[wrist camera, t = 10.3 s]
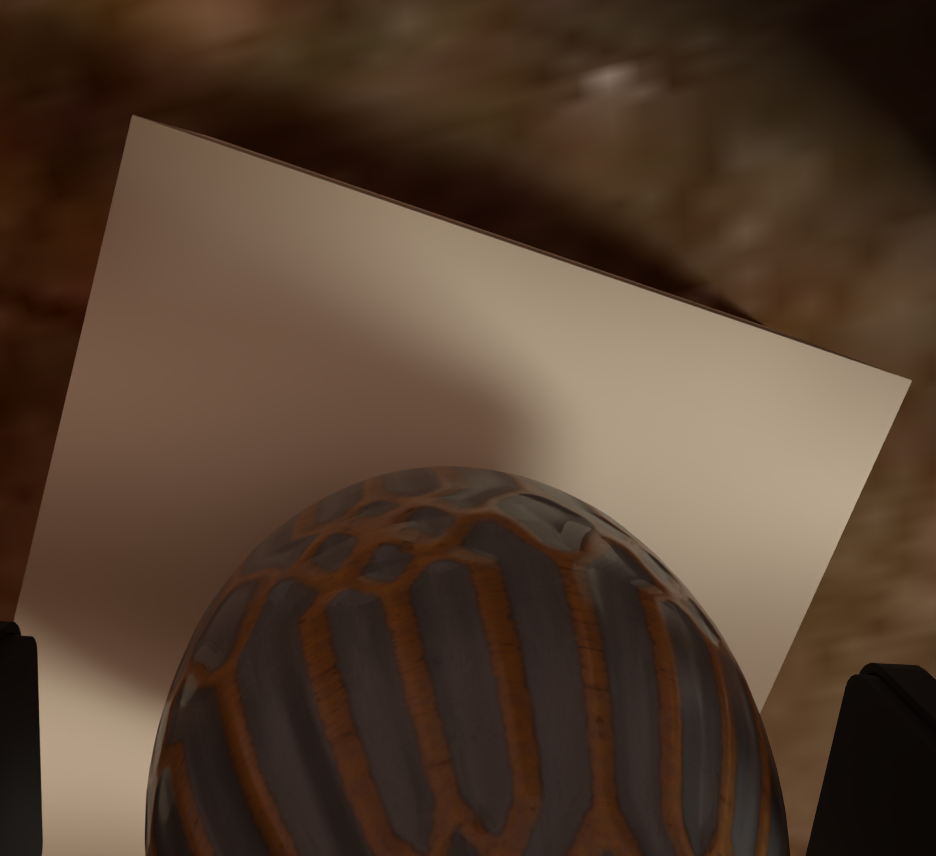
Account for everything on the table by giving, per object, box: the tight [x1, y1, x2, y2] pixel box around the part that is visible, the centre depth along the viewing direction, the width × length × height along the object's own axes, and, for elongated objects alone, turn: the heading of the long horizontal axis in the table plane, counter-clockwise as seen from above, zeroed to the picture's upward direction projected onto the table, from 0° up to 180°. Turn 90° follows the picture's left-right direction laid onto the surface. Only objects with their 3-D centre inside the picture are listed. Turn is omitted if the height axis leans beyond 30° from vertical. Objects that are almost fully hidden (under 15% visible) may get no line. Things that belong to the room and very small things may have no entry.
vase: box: [145, 466, 790, 856], centre depth 10 cm, size 7×7×9 cm
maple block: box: [13, 115, 912, 856], centre depth 17 cm, size 12×12×6 cm
